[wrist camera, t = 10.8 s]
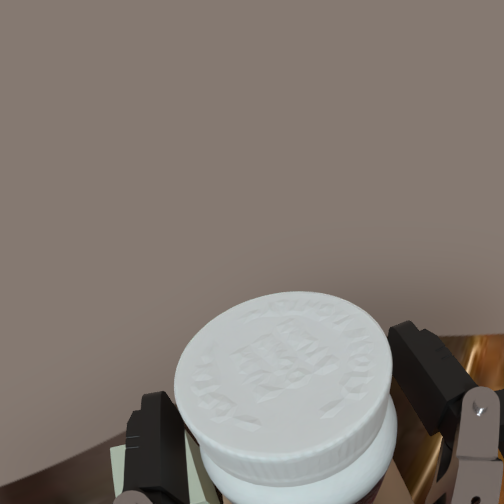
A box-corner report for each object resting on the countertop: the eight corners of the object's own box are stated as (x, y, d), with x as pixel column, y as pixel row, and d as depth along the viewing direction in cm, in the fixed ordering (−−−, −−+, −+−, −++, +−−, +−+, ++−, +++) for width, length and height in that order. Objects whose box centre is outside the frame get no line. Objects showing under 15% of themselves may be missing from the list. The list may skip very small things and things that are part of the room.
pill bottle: (358, 433, 15) (363, 259, 10) (386, 528, 10) (465, 424, 4) (247, 456, 15) (169, 301, 10) (256, 555, 10) (136, 491, 4)
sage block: (147, 532, 15) (119, 519, 13) (135, 469, 20) (110, 448, 19) (224, 514, 17) (205, 500, 15) (202, 451, 22) (183, 427, 20)
